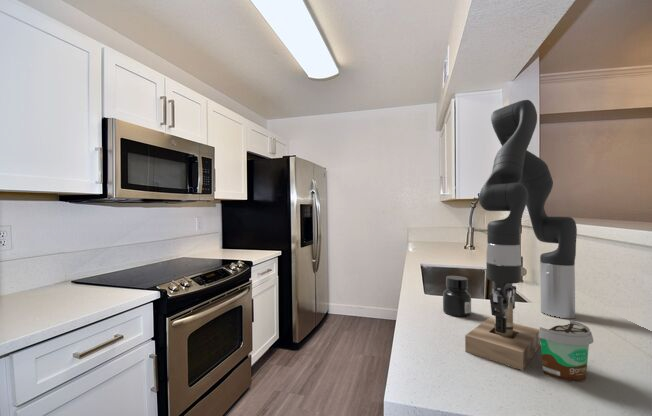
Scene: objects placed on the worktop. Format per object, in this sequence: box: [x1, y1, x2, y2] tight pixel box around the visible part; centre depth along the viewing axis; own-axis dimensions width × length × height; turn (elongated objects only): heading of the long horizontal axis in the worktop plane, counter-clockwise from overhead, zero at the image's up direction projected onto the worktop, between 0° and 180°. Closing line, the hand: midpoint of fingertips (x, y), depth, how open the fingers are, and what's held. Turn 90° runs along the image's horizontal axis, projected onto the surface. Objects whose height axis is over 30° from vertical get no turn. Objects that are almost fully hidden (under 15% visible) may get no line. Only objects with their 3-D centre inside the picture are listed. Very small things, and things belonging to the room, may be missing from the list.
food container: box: [538, 319, 594, 383], centre depth 61 cm, size 12×6×10 cm, turn 114°
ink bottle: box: [442, 275, 472, 318], centre depth 99 cm, size 10×9×12 cm
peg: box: [493, 303, 514, 338], centre depth 73 cm, size 4×4×10 cm
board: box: [464, 317, 541, 371], centre depth 73 cm, size 18×12×4 cm, turn 133°
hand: (503, 329), depth 73 cm, fingers closed on peg, 4 cm apart
